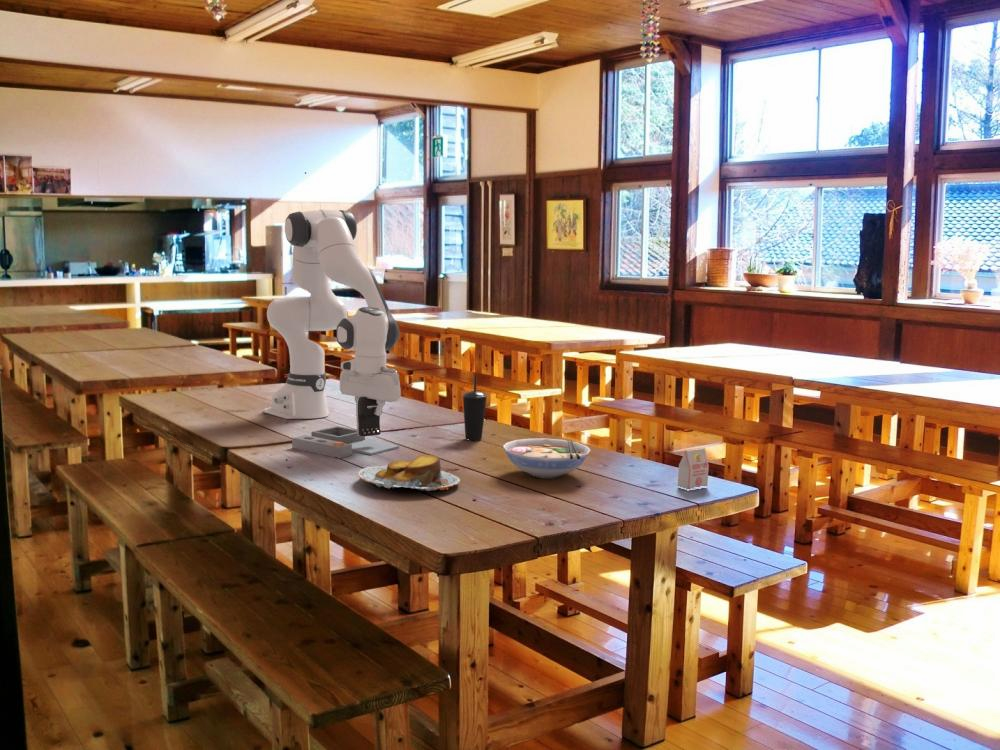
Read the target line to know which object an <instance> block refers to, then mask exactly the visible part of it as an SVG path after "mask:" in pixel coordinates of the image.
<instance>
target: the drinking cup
mask: <svg viewBox="0 0 1000 750" xmlns="http://www.w3.org/2000/svg"><path fill="white" fill-rule="evenodd" d="M473 376H474V377H473V390H469V391H467V392H465V393H462V394H461V396H462V402H463V416H464V417H463V418H464V419H463V420H464V434H465V437H464V438H465V440H466V439H469V440H480V439H481V440H482V438H483V431H484V430H483V428H484V423H485V421H484V420H485V413H486V404H487V398H488V394H487V393H485V392H483V391H480V390H477V376H478V375H477V373H474V375H473ZM469 440H468V441H469ZM481 440H480V441H481Z"/></svg>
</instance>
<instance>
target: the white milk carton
mask: <svg viewBox="0 0 1000 750" xmlns="http://www.w3.org/2000/svg"><path fill="white" fill-rule="evenodd" d="M707 457H708V456H707V453H706V448H697V449H695V448H694V449H689V450H684V453H683V455H682V458H681V459H680V462H679V464H678V474H677V486H680V487H683V488H686V489H691V488H694V487H700V486H707V487H708V483H709V481H708V480H709V469H710V468H709V467H710V466H709V462H708V458H707Z"/></svg>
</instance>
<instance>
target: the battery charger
mask: <svg viewBox="0 0 1000 750" xmlns="http://www.w3.org/2000/svg"><path fill="white" fill-rule="evenodd" d="M355 404H356V405H355V406H356V407H355V408H356V430H357V435H358V436H365V437H371V436H372V437H373V436H374V437H375V436H379V435H381V432H382V431H381V426H380V425H381V424H380V423H381V422H380V421H381V415H379V416H377V415H374V409H376V408H377V406H378V404H377V400H375V399H369V398H367V397H362V396H360V397H358V399H357V402H355Z"/></svg>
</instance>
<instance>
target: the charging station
mask: <svg viewBox="0 0 1000 750" xmlns="http://www.w3.org/2000/svg"><path fill="white" fill-rule="evenodd" d="M310 434H311V435H307V434H304V435H298V436H294V437H292V438H291V443H292V444H291V448H292V449H294V448H295V449H294V450H300V451H305V452H309V453H311V454H312V453H313V454H318V455H321V454H322V456H326V455H327V456H326V457H330V458H335V457H337V458H336V459H343V458H346V457H350V456H352V454H353V451H352V443H356V442H360V441H364V440H366V439H365V438H366V436H358V435H357V429H355V428H349V427H344V426H340V425H337V426H332V427H328V428H322V429H318V430H313V431H311V433H310ZM339 435H341V436H339Z"/></svg>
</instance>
